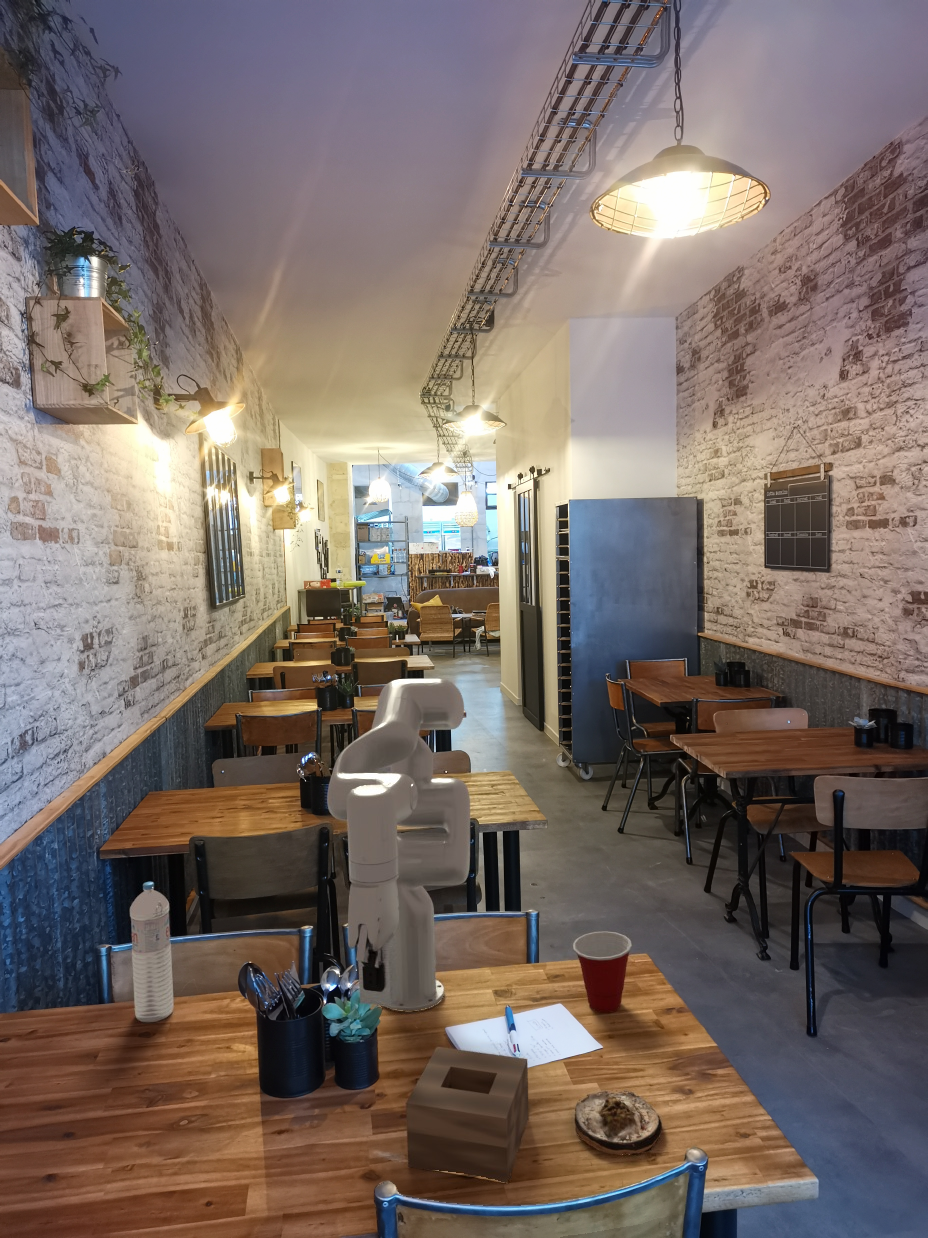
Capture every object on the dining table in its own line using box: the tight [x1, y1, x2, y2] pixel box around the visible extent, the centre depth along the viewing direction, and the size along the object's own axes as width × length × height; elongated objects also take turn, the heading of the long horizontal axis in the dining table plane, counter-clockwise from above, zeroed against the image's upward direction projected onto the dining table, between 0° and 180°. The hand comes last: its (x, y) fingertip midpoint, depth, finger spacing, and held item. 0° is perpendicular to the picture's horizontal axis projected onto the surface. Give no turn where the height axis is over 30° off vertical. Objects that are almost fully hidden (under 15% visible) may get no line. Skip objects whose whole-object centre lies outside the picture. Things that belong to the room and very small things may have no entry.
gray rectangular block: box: [358, 934, 398, 1007], centre depth 129 cm, size 3×5×10 cm, turn 74°
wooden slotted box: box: [405, 1046, 530, 1183], centre depth 120 cm, size 14×14×9 cm
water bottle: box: [129, 881, 174, 1023], centre depth 157 cm, size 7×7×25 cm
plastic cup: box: [572, 931, 632, 1014], centre depth 156 cm, size 11×11×12 cm
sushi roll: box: [573, 1089, 663, 1156], centre depth 122 cm, size 15×15×4 cm
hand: (378, 983), depth 130 cm, fingers closed on gray rectangular block, 3 cm apart
